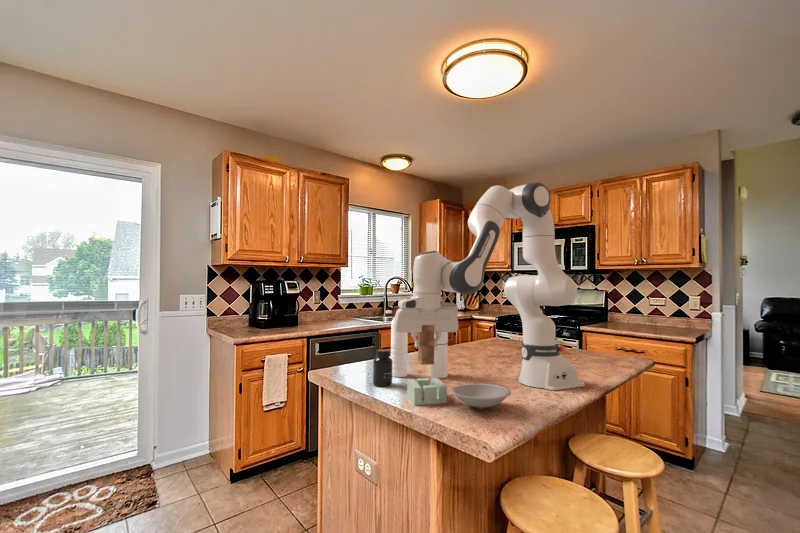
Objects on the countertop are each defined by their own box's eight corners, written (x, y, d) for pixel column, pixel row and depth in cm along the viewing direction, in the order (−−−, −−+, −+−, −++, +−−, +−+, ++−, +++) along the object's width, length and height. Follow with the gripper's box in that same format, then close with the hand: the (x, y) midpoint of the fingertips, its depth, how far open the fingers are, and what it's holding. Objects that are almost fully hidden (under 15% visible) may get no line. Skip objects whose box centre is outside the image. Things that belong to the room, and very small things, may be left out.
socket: (436, 393, 123) (437, 377, 123) (446, 403, 113) (446, 386, 113) (407, 394, 121) (407, 379, 121) (414, 405, 111) (414, 388, 111)
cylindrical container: (448, 378, 141) (448, 311, 142) (429, 378, 141) (430, 311, 142) (446, 373, 148) (446, 310, 149) (428, 373, 148) (428, 309, 149)
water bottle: (404, 372, 149) (405, 309, 149) (409, 377, 142) (409, 311, 143) (383, 374, 146) (383, 309, 147) (387, 378, 140) (387, 311, 141)
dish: (497, 398, 118) (497, 382, 118) (521, 414, 104) (521, 396, 104) (444, 401, 115) (444, 385, 115) (461, 419, 101) (461, 400, 101)
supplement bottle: (389, 387, 128) (390, 352, 129) (370, 386, 130) (370, 351, 130) (394, 382, 135) (394, 348, 135) (375, 381, 136) (376, 348, 137)
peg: (430, 361, 119) (430, 323, 120) (433, 364, 115) (434, 325, 116) (418, 361, 118) (418, 323, 119) (421, 364, 115) (421, 325, 115)
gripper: (454, 301, 123) (454, 344, 122) (393, 301, 119) (392, 345, 118) (461, 303, 117) (461, 347, 116) (397, 302, 113) (396, 349, 112)
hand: (426, 346), depth 117 cm, fingers closed on peg, 4 cm apart
